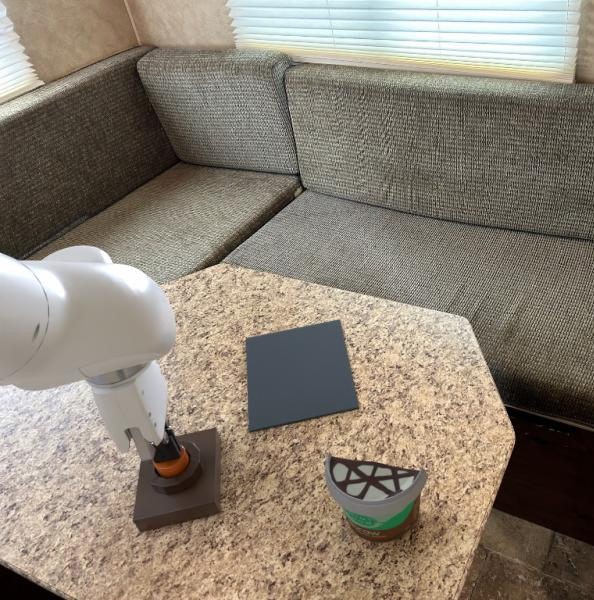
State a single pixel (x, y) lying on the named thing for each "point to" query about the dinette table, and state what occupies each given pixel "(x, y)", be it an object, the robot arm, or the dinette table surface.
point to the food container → (375, 496)
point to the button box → (181, 485)
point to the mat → (298, 375)
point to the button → (173, 465)
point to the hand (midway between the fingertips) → (168, 455)
